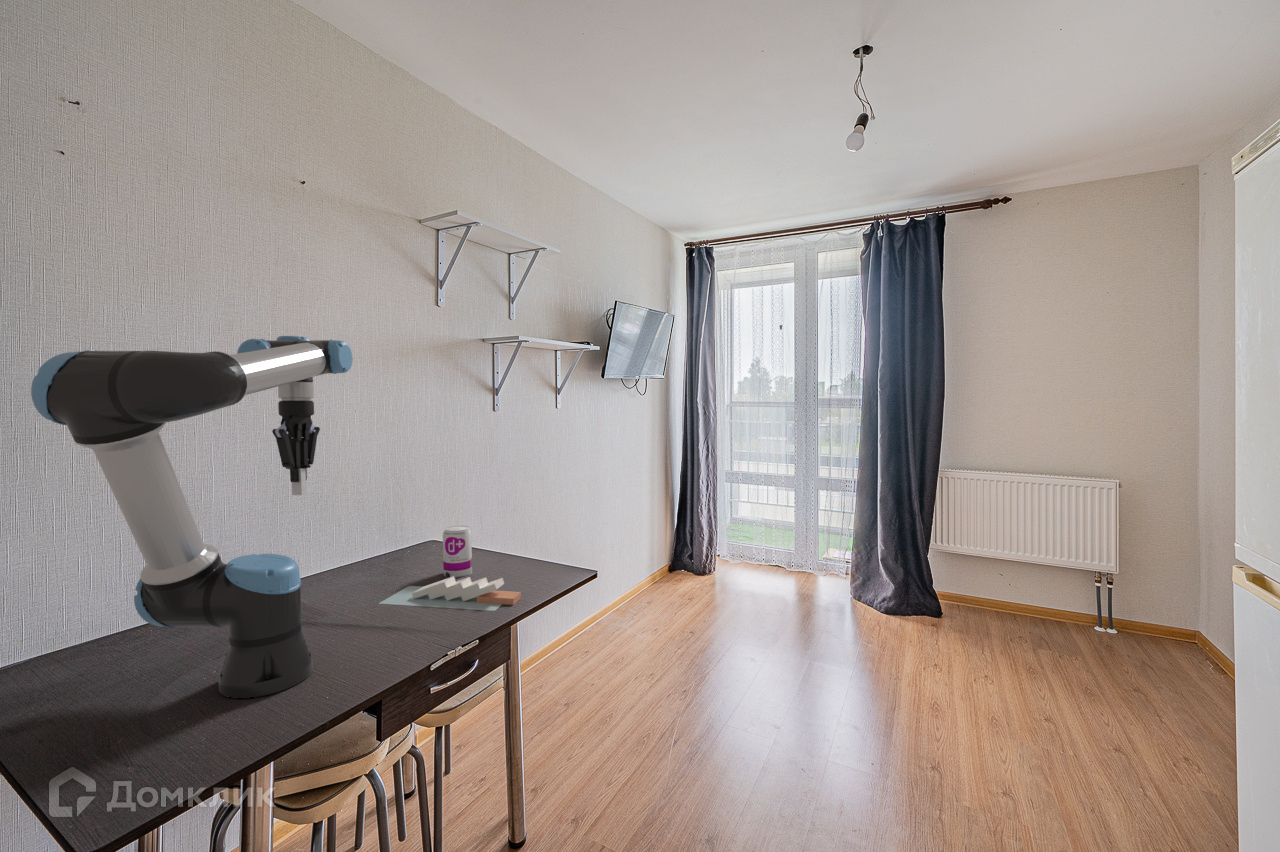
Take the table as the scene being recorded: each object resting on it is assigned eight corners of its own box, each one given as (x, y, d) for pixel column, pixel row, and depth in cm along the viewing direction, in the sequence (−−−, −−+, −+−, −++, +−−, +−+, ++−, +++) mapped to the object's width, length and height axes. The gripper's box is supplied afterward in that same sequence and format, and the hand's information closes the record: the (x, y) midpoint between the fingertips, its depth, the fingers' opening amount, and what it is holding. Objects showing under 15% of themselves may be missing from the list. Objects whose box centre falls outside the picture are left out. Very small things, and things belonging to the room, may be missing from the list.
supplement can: (467, 581, 166) (466, 531, 165) (439, 581, 166) (438, 531, 165) (475, 573, 174) (474, 525, 173) (449, 573, 174) (448, 525, 174)
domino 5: (485, 596, 150) (520, 598, 148) (476, 602, 145) (513, 604, 143) (485, 590, 150) (520, 592, 148) (476, 596, 145) (513, 598, 143)
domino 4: (472, 594, 151) (504, 583, 149) (463, 601, 146) (496, 589, 144) (469, 589, 151) (502, 577, 149) (460, 595, 146) (494, 583, 144)
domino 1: (424, 592, 153) (455, 581, 151) (413, 598, 148) (446, 587, 146) (422, 587, 153) (453, 576, 151) (411, 593, 148) (444, 581, 146)
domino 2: (439, 593, 152) (471, 582, 150) (430, 599, 147) (463, 588, 145) (437, 587, 152) (469, 576, 150) (427, 594, 147) (460, 582, 146)
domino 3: (456, 594, 151) (488, 582, 150) (446, 600, 146) (479, 588, 145) (453, 588, 151) (486, 577, 150) (444, 595, 146) (477, 583, 145)
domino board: (495, 615, 139) (494, 610, 139) (378, 608, 145) (378, 603, 145) (516, 596, 153) (516, 591, 153) (409, 590, 159) (409, 585, 159)
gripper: (302, 399, 145) (305, 490, 146) (260, 399, 132) (264, 498, 133) (328, 399, 144) (331, 490, 145) (288, 399, 131) (292, 499, 132)
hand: (299, 494), depth 139 cm, fingers closed
